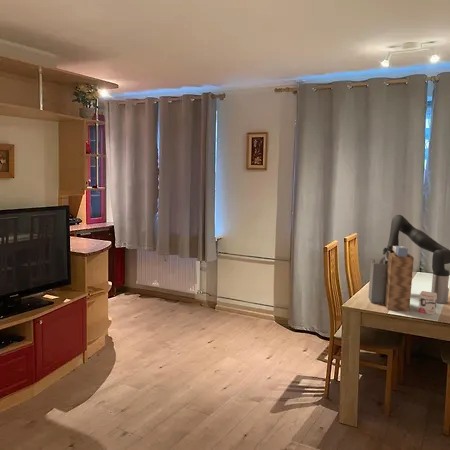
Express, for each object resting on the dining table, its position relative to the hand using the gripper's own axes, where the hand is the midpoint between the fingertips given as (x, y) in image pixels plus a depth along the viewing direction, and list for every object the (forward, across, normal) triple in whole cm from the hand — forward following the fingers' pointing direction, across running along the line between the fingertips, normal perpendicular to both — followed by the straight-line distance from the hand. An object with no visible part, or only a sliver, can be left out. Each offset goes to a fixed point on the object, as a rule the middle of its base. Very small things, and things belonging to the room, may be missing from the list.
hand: (397, 247), depth 287 cm
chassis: (-17, -9, +30) cm, 36 cm away
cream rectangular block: (+5, 0, +5) cm, 7 cm away
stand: (-6, 0, +36) cm, 37 cm away
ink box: (-2, +16, +39) cm, 42 cm away
